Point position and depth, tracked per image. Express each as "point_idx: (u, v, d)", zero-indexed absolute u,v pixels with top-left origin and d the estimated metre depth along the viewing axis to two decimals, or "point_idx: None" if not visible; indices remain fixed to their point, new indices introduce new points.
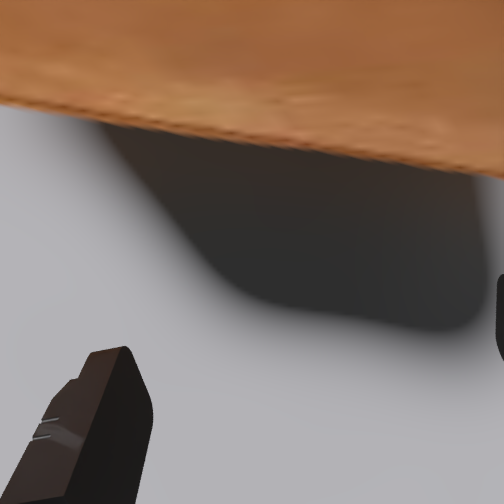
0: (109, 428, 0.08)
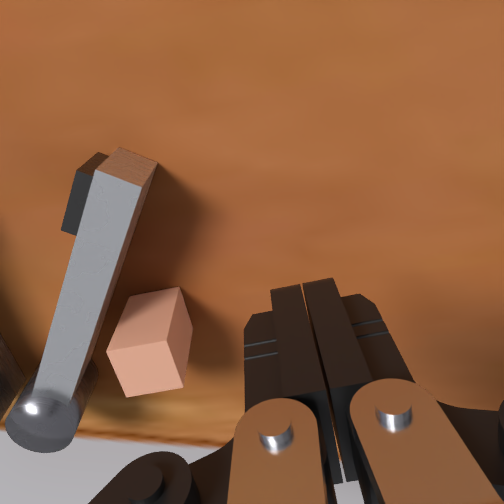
0: None
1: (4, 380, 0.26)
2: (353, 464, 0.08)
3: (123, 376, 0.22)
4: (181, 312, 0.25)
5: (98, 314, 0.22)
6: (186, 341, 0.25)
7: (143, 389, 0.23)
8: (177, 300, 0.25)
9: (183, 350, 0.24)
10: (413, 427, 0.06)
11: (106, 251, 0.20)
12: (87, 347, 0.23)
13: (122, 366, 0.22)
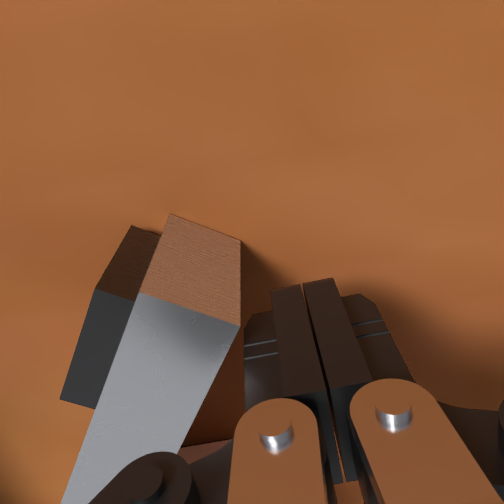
0: None
1: None
2: (353, 464, 0.08)
3: None
4: None
5: None
6: None
7: None
8: None
9: None
10: (413, 427, 0.06)
11: (153, 441, 0.10)
12: None
13: None
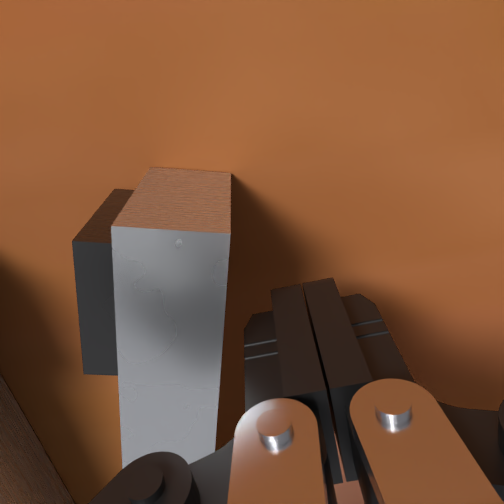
0: None
1: None
2: (353, 464, 0.08)
3: None
4: None
5: None
6: None
7: None
8: None
9: None
10: (413, 427, 0.06)
11: (189, 392, 0.09)
12: None
13: None
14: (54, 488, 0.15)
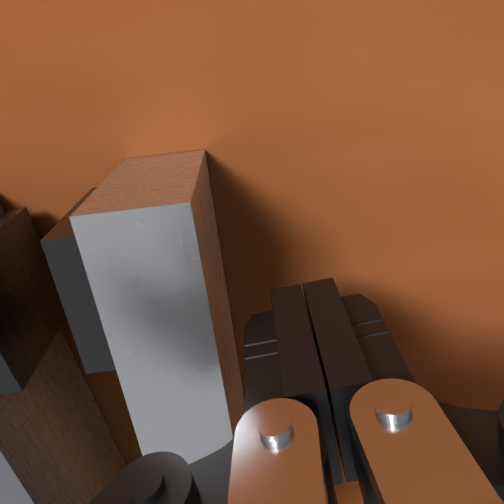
0: None
1: None
2: (353, 464, 0.08)
3: None
4: None
5: None
6: None
7: None
8: None
9: None
10: (413, 427, 0.06)
11: (191, 375, 0.09)
12: None
13: None
14: None
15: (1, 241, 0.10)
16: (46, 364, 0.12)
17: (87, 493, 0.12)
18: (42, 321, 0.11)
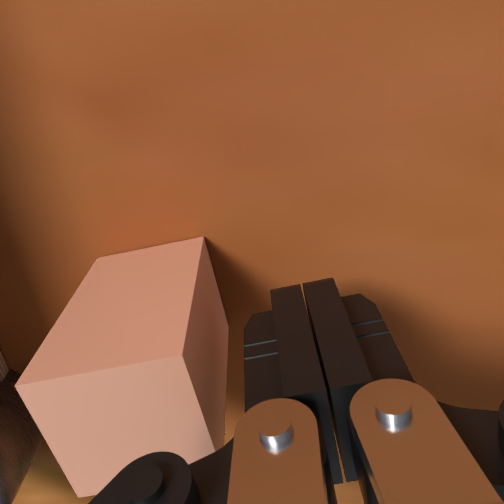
0: None
1: None
2: (353, 464, 0.08)
3: (67, 449, 0.08)
4: (209, 290, 0.11)
5: None
6: (221, 354, 0.11)
7: None
8: (201, 262, 0.11)
9: (217, 376, 0.10)
10: (413, 427, 0.06)
11: None
12: None
13: (63, 424, 0.08)
14: None
15: None
16: None
17: None
18: None
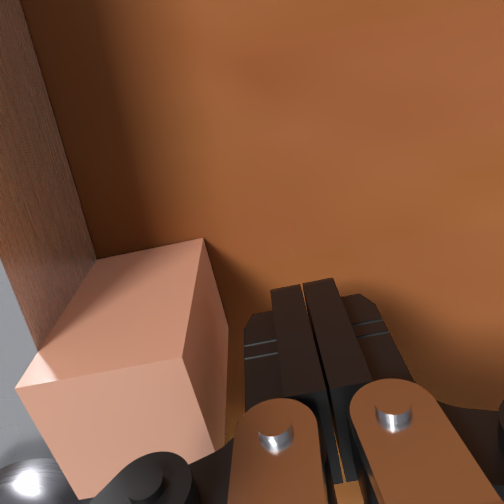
0: None
1: None
2: (353, 464, 0.08)
3: (67, 451, 0.08)
4: (209, 291, 0.11)
5: None
6: (221, 355, 0.11)
7: None
8: (201, 263, 0.11)
9: (217, 377, 0.10)
10: (413, 427, 0.06)
11: None
12: (14, 297, 0.08)
13: (63, 426, 0.08)
14: None
15: None
16: None
17: None
18: None
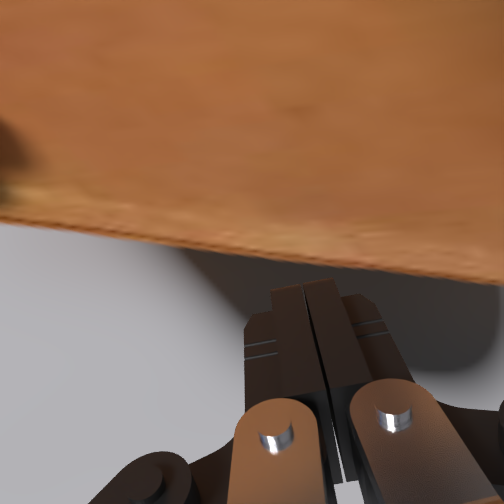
0: None
1: None
2: (353, 464, 0.08)
3: None
4: None
5: None
6: None
7: None
8: None
9: None
10: (413, 427, 0.06)
11: None
12: None
13: None
14: None
15: None
16: None
17: None
18: None
